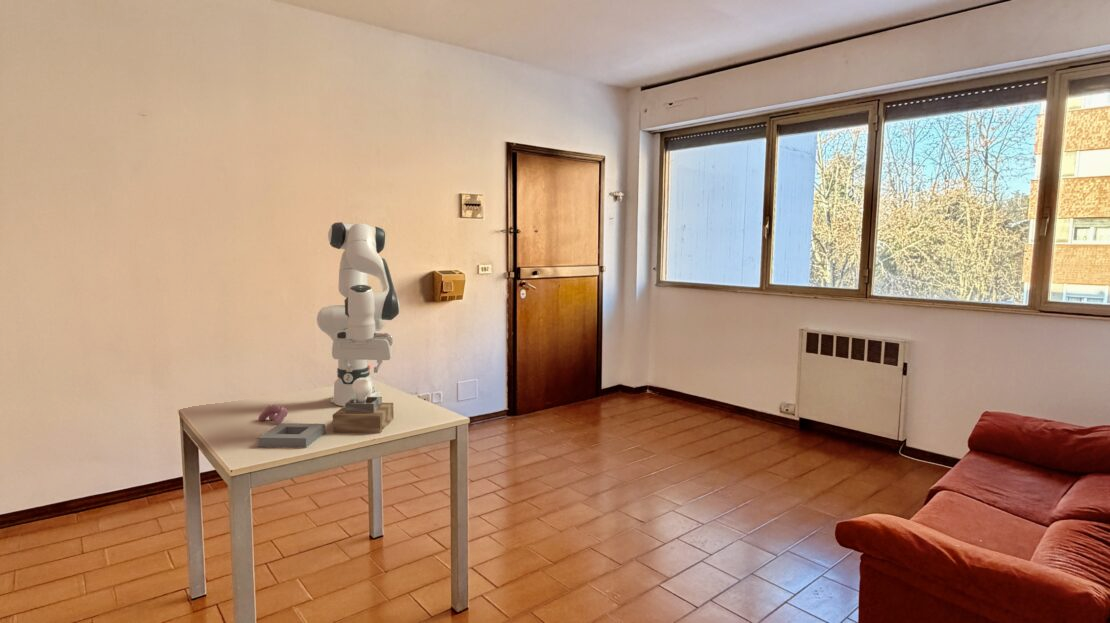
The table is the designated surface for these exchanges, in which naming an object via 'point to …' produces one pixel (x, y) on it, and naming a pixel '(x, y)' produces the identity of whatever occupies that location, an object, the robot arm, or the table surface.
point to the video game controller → (274, 413)
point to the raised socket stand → (363, 416)
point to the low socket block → (291, 435)
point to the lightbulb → (361, 389)
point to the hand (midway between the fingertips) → (363, 372)
